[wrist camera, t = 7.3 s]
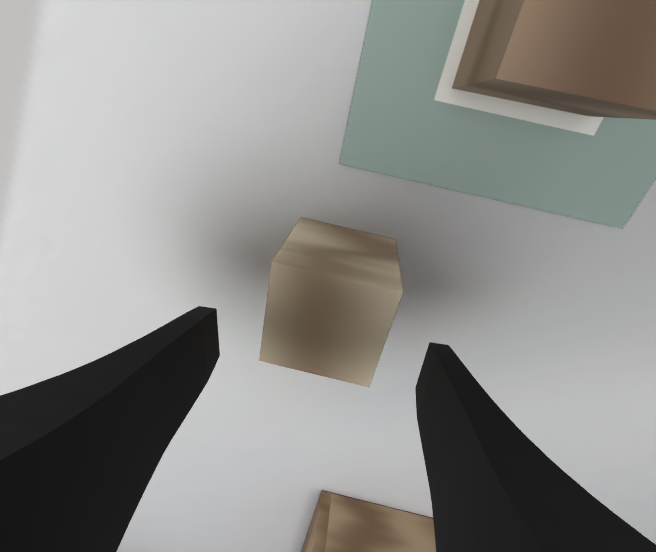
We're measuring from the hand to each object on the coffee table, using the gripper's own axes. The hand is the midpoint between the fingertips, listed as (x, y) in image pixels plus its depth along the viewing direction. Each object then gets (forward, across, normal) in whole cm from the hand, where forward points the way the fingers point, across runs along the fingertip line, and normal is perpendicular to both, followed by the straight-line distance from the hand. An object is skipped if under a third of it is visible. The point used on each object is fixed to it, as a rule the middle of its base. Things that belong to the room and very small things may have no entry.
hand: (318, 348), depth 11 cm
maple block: (+6, 0, 0) cm, 6 cm away
